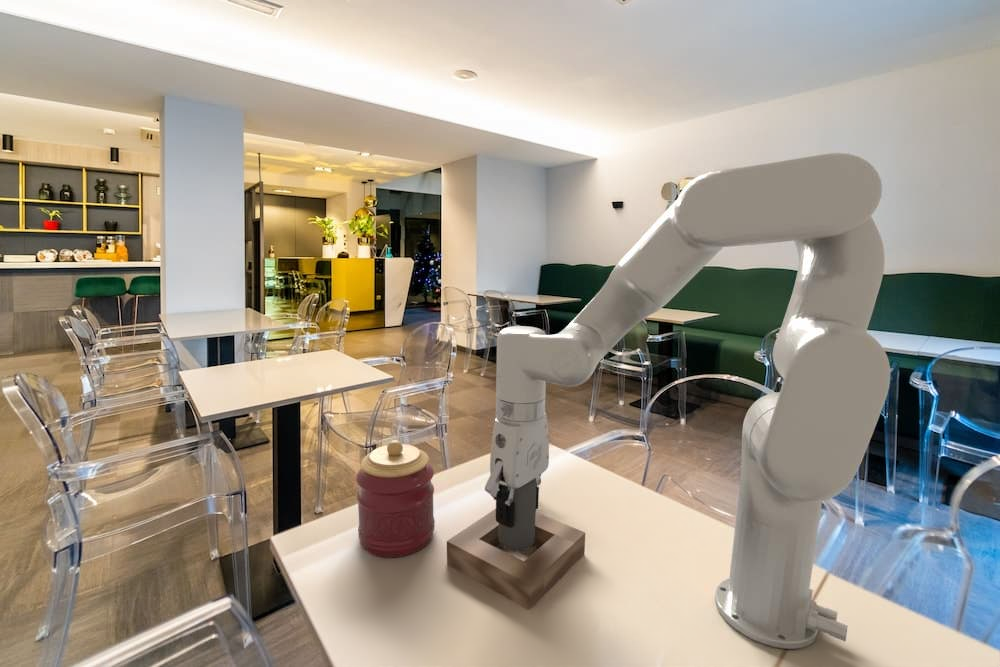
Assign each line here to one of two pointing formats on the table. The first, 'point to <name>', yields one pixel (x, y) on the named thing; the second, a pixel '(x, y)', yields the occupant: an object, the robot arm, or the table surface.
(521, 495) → the bottle
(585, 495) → the table surface
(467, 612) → the table surface
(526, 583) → the collar block
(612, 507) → the table surface
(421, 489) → the canister
